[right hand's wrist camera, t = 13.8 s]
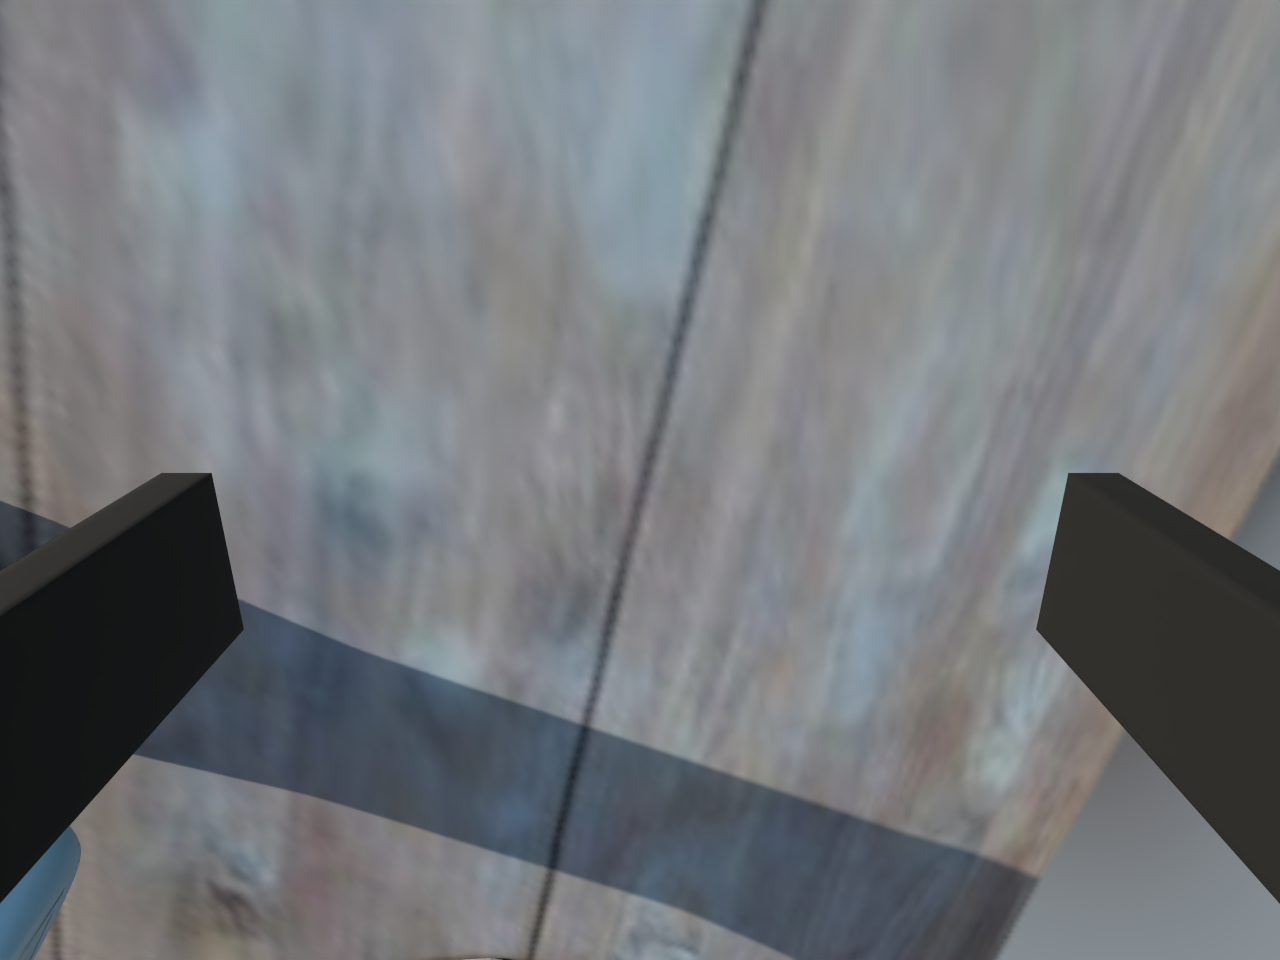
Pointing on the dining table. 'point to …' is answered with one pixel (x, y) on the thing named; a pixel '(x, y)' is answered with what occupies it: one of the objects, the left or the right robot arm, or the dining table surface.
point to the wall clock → (483, 959)
